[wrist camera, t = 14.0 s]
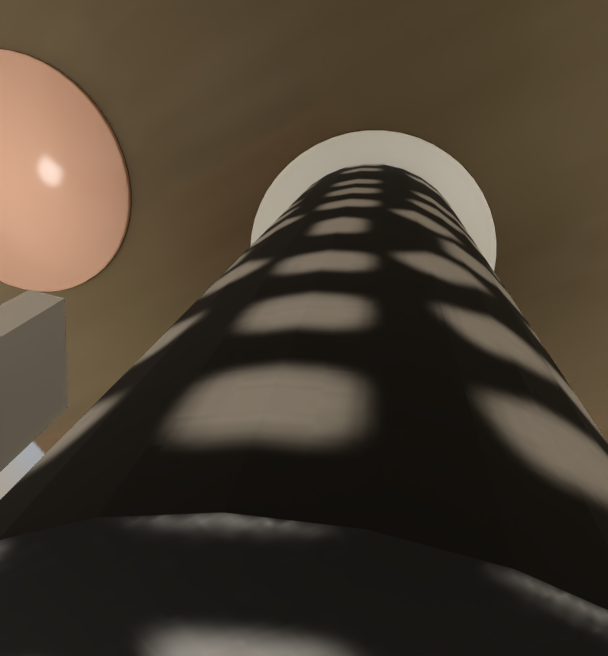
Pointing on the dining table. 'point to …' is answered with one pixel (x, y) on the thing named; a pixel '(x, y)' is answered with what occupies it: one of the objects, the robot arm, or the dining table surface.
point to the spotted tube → (324, 463)
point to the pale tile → (386, 151)
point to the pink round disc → (56, 179)
